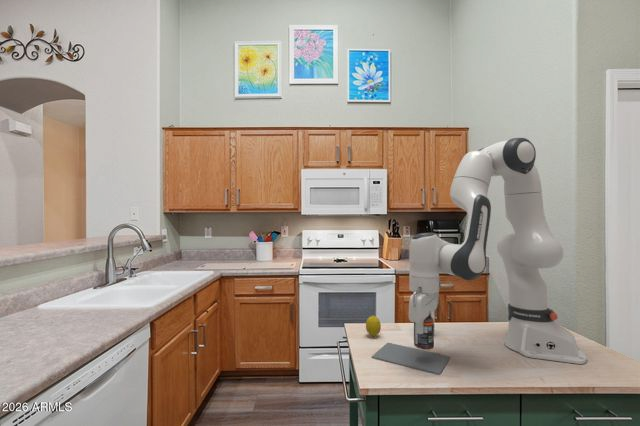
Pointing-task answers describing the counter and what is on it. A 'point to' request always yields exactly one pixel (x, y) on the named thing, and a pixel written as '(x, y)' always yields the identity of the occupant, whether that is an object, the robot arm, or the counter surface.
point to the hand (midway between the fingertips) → (424, 329)
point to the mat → (412, 358)
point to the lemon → (373, 325)
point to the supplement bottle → (425, 335)
